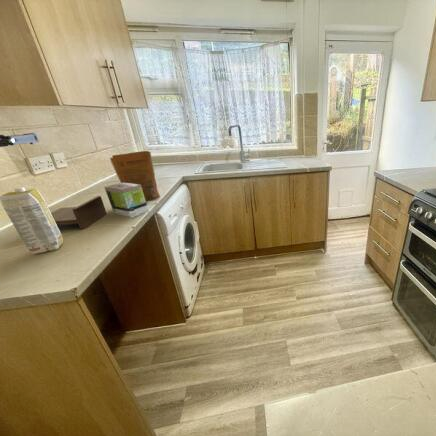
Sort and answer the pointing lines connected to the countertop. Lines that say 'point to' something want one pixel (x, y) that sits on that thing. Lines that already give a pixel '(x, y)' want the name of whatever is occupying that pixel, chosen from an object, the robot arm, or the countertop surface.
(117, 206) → the tea box
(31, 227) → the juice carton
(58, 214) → the shelf
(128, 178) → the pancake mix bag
